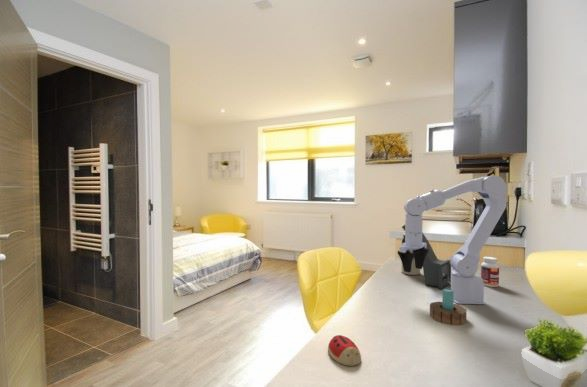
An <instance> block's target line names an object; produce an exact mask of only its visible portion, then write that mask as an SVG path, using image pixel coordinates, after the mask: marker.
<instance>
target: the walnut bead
mask: <svg viewBox="0 0 587 387" xmlns="http://www.w3.org/2000/svg"><path fill="white" fill-rule="evenodd" d="M429 316H430V318H432V319H433V320H435V321H437V322H439V323H442V324H447V325H454V326H455V325H456V326H460V325H464V324H467V309H466V308H465V307H463V306H462V305H461V304H457V303H454V310H453V311H449V310H444V309H442V301H435V302H434V301H433V302H431V303H430V304H429Z"/></svg>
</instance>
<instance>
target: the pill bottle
mask: <svg viewBox="0 0 587 387" xmlns="http://www.w3.org/2000/svg"><path fill="white" fill-rule="evenodd" d="M480 277H481V278H482V280H483V283H484V287H490V288H497V287H499V285H500V265H499V264H498V258H496V257H494V256H483V262H481V264H480Z"/></svg>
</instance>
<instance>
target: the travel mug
mask: <svg viewBox="0 0 587 387" xmlns="http://www.w3.org/2000/svg"><path fill="white" fill-rule="evenodd" d="M402 237H403V238H402V240H401V244H402V243H405V232H403V233H402ZM410 253H413V251H410ZM413 254H414V253H413ZM401 272H402V273H403V274H404V275H408V276H418V275H420V274H421V269H418V268H416V267H415V258H414V257H413V260H412V266H411V272H410V273H409V272H405V271H404V269H403V264H402V263H401Z"/></svg>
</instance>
